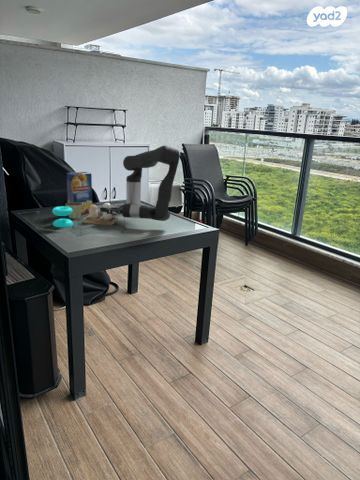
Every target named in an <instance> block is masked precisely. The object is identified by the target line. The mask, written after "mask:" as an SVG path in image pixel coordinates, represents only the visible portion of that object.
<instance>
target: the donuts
mask: <svg viewBox="0 0 360 480" xmlns="http://www.w3.org/2000/svg"><path fill="white" fill-rule="evenodd" d="M71 213H72V208H70V207H67V206H66V205H65V206H63V205H62V206H56V207H53V209H52V214H53V215H55V216H58V217H59V216H60V217H67V216H69V215H70V214H71ZM52 225H53V227H56V228H69V227H72V226H73V225H74V222H73V221H72V220H71V219H70V218H58V219H55V220H54V221H53V223H52Z"/></svg>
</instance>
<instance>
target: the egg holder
mask: <svg viewBox="0 0 360 480" xmlns="http://www.w3.org/2000/svg"><path fill="white" fill-rule="evenodd" d="M117 222H118V217H116V216H111V220H109V221H106V220H103V215H98V219H97V220H95V219H89V214H88V215H87V216H85V217H83V218H82V224H83V223H85V224H95V225H102V226H103V225H104V226H105V225H106V226H113V225H115V224H116V223H117Z"/></svg>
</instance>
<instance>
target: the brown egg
mask: <svg viewBox="0 0 360 480" xmlns="http://www.w3.org/2000/svg"><path fill="white" fill-rule="evenodd" d="M98 209H99V208H98V206H97V205H96V204H94V203H92V205H90V207H89V212H88V215H89V219H95V220H97V219H98V216H99V210H98Z"/></svg>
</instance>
